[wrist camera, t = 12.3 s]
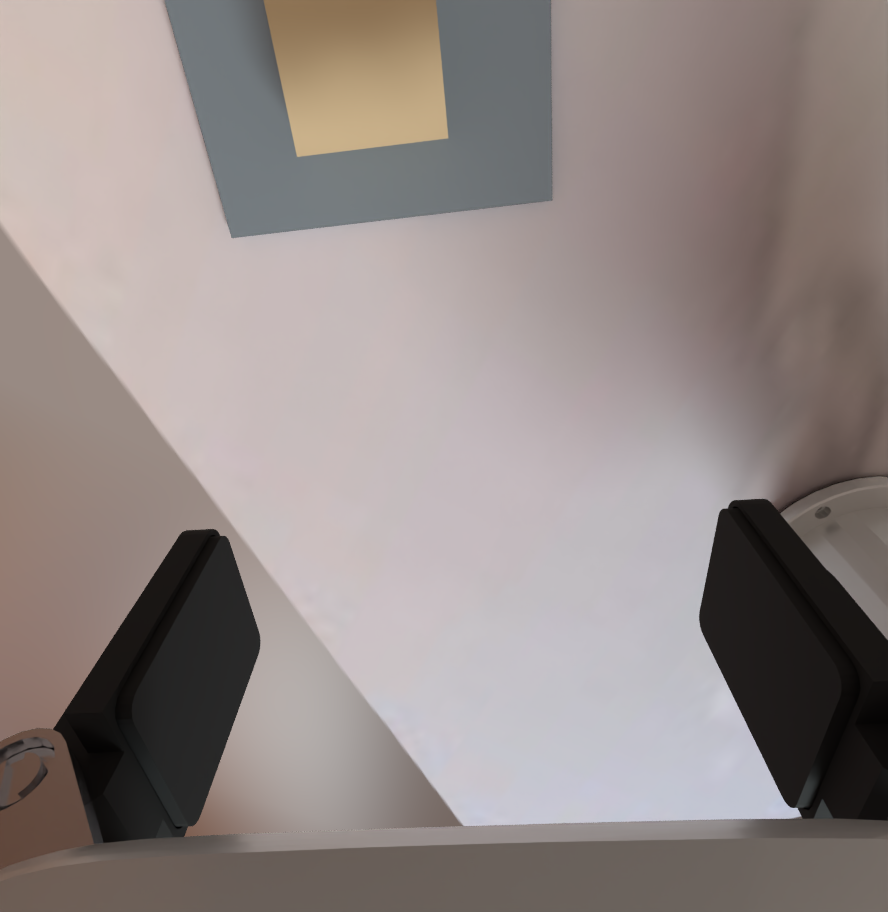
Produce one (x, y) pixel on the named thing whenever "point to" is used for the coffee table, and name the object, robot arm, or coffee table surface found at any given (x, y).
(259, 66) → the mat
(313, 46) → the light brown rectangular block
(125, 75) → the coffee table surface
